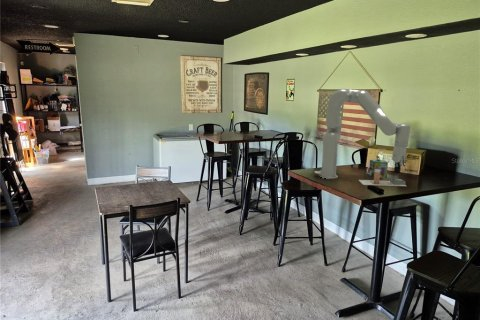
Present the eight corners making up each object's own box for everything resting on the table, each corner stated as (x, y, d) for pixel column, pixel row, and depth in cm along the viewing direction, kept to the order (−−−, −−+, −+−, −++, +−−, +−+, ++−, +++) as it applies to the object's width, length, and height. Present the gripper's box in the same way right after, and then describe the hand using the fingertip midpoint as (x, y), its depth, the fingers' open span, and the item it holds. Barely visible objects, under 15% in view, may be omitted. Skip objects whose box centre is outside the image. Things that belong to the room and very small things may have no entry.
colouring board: (363, 185, 203) (363, 181, 202) (358, 181, 215) (358, 176, 214) (406, 187, 200) (407, 182, 200) (399, 182, 212) (400, 178, 212)
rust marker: (374, 183, 204) (375, 169, 203) (372, 182, 208) (374, 168, 206) (379, 184, 204) (381, 170, 202) (378, 182, 207) (379, 168, 206)
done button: (395, 183, 204) (395, 180, 204) (392, 181, 209) (393, 178, 208) (402, 183, 204) (402, 180, 204) (399, 182, 208) (400, 178, 208)
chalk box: (386, 178, 221) (389, 157, 218) (373, 178, 221) (375, 157, 219) (381, 175, 230) (383, 154, 227) (368, 175, 231) (370, 154, 228)
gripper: (390, 141, 209) (386, 169, 213) (399, 145, 195) (394, 175, 199) (402, 142, 209) (398, 170, 212) (412, 146, 194) (407, 176, 198)
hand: (396, 172), depth 206 cm, fingers closed
